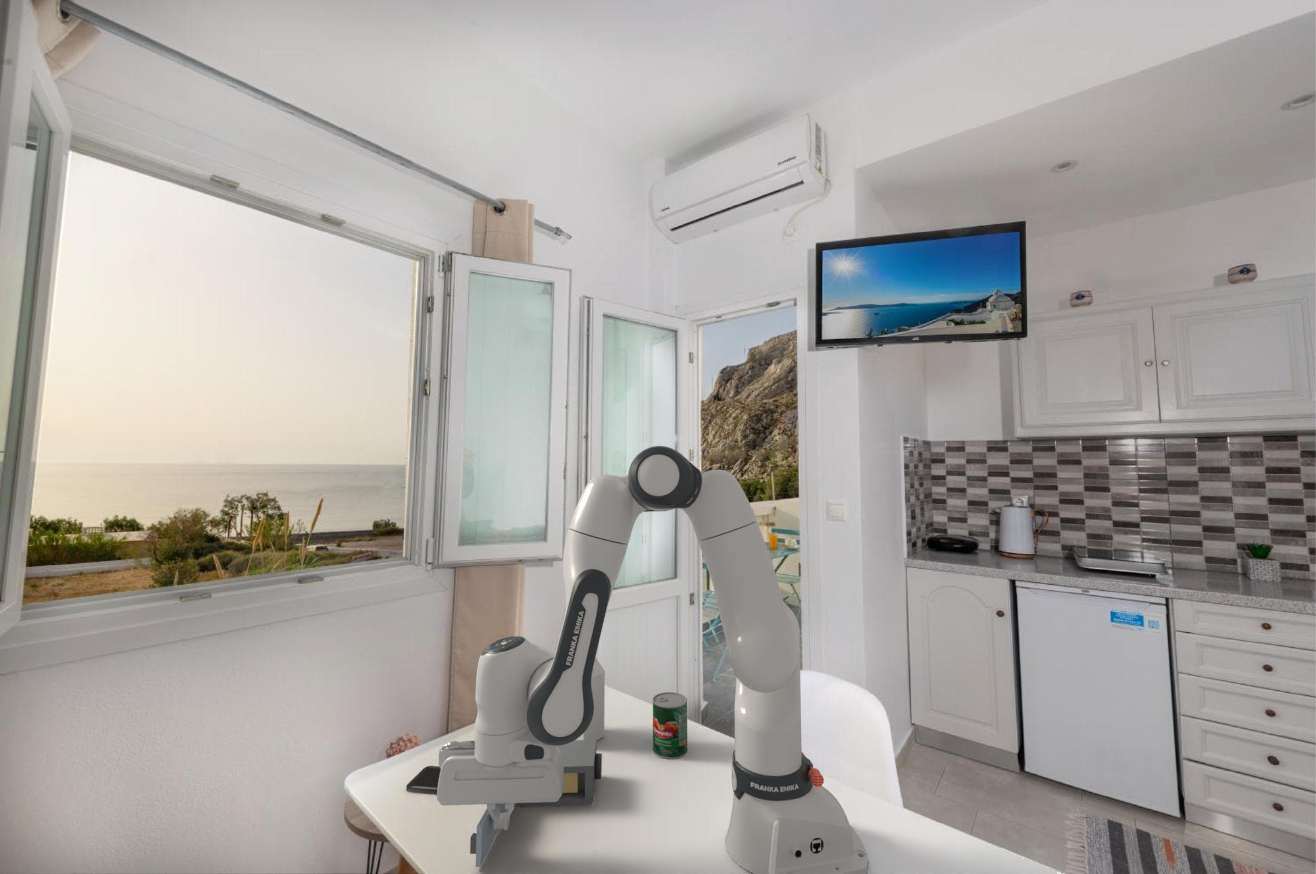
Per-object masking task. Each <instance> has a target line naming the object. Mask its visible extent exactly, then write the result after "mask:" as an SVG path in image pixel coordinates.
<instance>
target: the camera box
mask: <svg viewBox="0 0 1316 874" xmlns="http://www.w3.org/2000/svg"><path fill="white" fill-rule="evenodd" d="M597 741H598V740H574V741H573V742H570V743H568V744H565V745H558V747H559V749H560V751H561V754H562V759H563V767H564V789H563V793H562V796H561V797H560V798H559V800H558V801H557V802H536V803H516V804H515V807H518V808H519V807H520V808H540V807H541V808H543V807H544V808H545V807H571V806H573V807H574V806H593V805H594V798H595V789H596V787H595V786H596V780H597V781H598V780H602V771H603V768H602V767H603V753H598V752H597ZM515 807H514V809H515Z"/></svg>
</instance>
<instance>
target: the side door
mask: <svg viewBox="0 0 1316 874" xmlns="http://www.w3.org/2000/svg"><path fill="white" fill-rule="evenodd" d="M497 806H498V808H499V810H500V812H501V813H506V811H507V809H505V804H497ZM499 831H500V830H494V820H493V819H492V818H491V816H490V814H489V813H488V811H487V808H485V811H484V813H483V814H482V815H481V818H480V820H479V821H478V823H477V825H476V832H474V833H472V834H471V836H470V839H469V840H470V841H469V844H470V846H469V854H470V855H473V854H474V855H475V868H481V867H482V865H483V864H484V861H485V859H486V857H487V855H488V853H489V851H490V849H491V847H492V845H493V843H494V841H495V839H496V837H497V835H498V833H499Z"/></svg>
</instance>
